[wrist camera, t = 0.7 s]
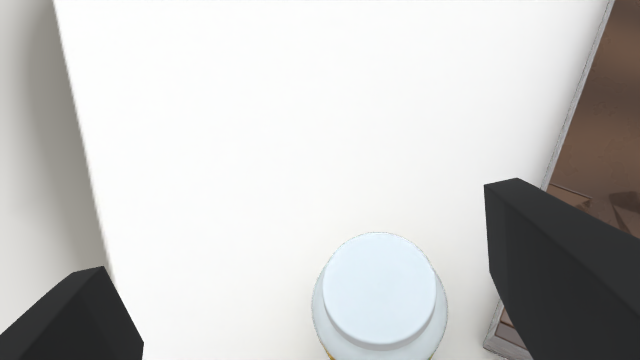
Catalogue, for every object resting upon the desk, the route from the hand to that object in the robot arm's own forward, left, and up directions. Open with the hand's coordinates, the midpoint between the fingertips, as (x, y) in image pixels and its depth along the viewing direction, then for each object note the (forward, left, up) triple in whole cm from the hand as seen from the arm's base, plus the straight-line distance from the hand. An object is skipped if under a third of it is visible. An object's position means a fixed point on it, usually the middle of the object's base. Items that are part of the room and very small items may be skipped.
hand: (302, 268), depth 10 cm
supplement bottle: (+2, -2, -18) cm, 18 cm away
